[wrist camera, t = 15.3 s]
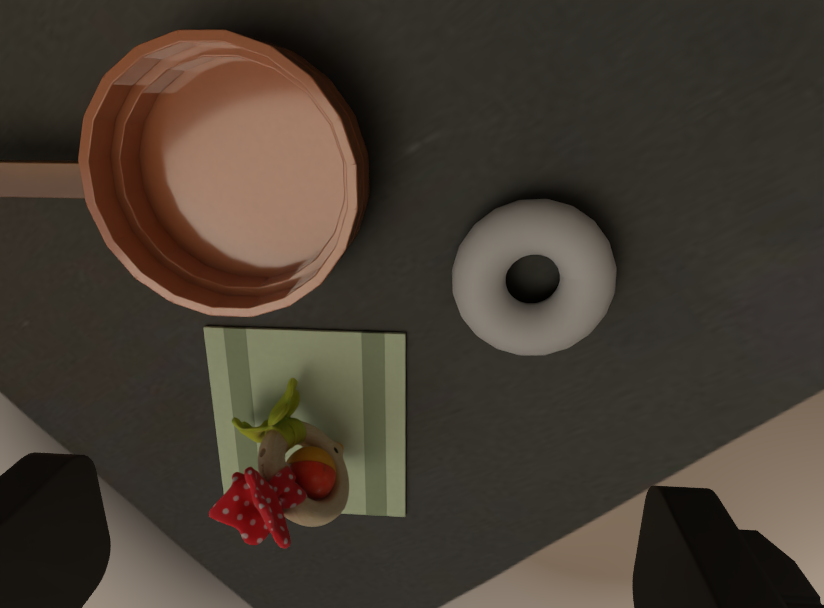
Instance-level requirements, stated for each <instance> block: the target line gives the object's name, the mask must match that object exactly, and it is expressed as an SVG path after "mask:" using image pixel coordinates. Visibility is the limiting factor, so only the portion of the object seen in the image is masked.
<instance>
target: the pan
mask: <svg viewBox="0 0 824 608" xmlns="http://www.w3.org/2000/svg"><path fill="white" fill-rule="evenodd" d="M78 162H79V167H80V173H81V178H82V184H83V189H84V195H85V200H86V204H87V207H88V209H89V211H90V213H91V215H92V217H93V219H94V221H95V223H96V225H97V227H98V229H99V231H100V233H101V235H102V237H103V239H104V241H105V243H106V244H107V247H108V248H109V249H110V250H111V251H112V252H113V253H114V255H115V256H116V257H117V258H118V259H119V260H120V261H121V263H122V264H123V265H124V266H125V267H126V268H127V269H128V271H129V272H130V273H131V274H132V275H133V276H134V277H135V278H136V279H137V280H138V281H140V282H141V283H143V284H144V285H146V286H147V287H149V288H150V289H152V290H153V291H155V292H156V293H158V294H159V295H161V296H162V297H164V298H165V299H167V300H168V301H170V302H172V303H174V304H177V305H180V306H183V307H186V308H189V309H192V310H195V311H198V312H201V313H204V314H207V315H212V316H235V317H254V316H257V315H261V314H264V313H268V312H271V311H275V310H278V309H282V308H285V307H289V306H291V305H292V304H294V303H295V302H296V301H298V300H299V299H301V298H302V297H304V296H305V295H306V294H308V293H309V292H311V291H312V290H314V289H315V288H317V287H318V286H319V285H321V284H322V283H323V282H324V280H325V279H326V277H327V276H328V275H329V273H330V272H331V271H332V269H333V268H334V266H335V265H336V264H337V262H338V261H339V260H340V258H341V257H342V255H343V254H344V253H345V251H346V250H347V248H348V247H349V246H350V244H351V243H352V241H353V240H354V239H355V237H356V236H357V234H358V232H359V229H360V226H361V222H362V219H363V216H364V213H365V209H366V206H367V203H368V199H369V157H368V153H367V150H366V147H365V144H364V141H363V138H362V135H361V132H360V128H359V125H358V122H357V119H356V116H355V115H354V113H353V111H352V110H351V108H350V107H349V106H348V104H347V103H346V101H345V100H344V99H343V97H342V96H341V94H340V93H339V92H338V90H337V89H336V87H335V86H334V84H333V83H332V82H331V80H330V79H329V78H328V77H327V76H326V75H324V74H323V73H322V72H320V71H319V70H318V69H316V68H315V67H314V66H312V65H311V64H310V63H309V62H307V61H306V60H305V59H303V58H302V57H301V56H299V55H298V54H297V53H296V52H293V51H292V50H289V49H286V48H283V47H280V46H278V45H275V44H272V43H269V42H266V41H263V40H260V39H258V38H255V37H251V36H247V35H244V34H240V33H236V32H232V31H229V30H224V29H209V30H176V31H173V32H170V33H168V34H165V35H163V36H160V37H158V38H155V39H152V40H150V41H147V42H145V43H142V44H139V45H137V46H136V47H134V48H133V49H132V50H131V51H130V52H129V53H128V54H127V55H125V56H124V57H123V58H122V59H121V60H120V61H119V62H118V63H117V64H116V65H115V66H114V67H113V68H111V69H110V70H109V71H108V72H107V73H106V74H105V75H104V77H103V78H102V80H101V82H100V84H99V86H98V88H97V90H96V92H95V94H94V96H93V98H92V100H91V102H90V104H89V106H88V108H87V110H86V112H85V114H84V117H83V125H82V133H81V141H80V149H79V157H78Z"/></svg>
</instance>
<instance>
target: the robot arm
mask: <svg viewBox="0 0 824 608" xmlns="http://www.w3.org/2000/svg"><path fill="white" fill-rule="evenodd" d="M110 546H111V545H110V535H109V530H108V526H107V521H106V516H105V511H104V507H103V502H102V497H101V492H100V487H99V482H98V477H97V472H96V468H95V465H94V463H93V461H92V460H91V459H90V458H89V457H88V456H85V455H72V454H53V453H30V454H28V455H26V456H24V457H23V458H21V459H20V460H19V461H18V462H17V463H15V464H14V465H13V466H12V467H11V468H9V469H8V470H7V471H6V472H5V473H3V474H2V475H1V476H0V608H82V607H83V605H84V604H85V603H86V601H87V600H88V599H89V597H90V596H91V595H92V593H93V592H94V590H95V589H96V588H97V586H98V585H99V583H100V581H101V580H102V578H103V575H104V573H105V571H106V568H107V565H108V561H109V556H110ZM633 601H634V608H824V605H822V604H821V603H820V596H819V595H818V594H817V592H816V591H815V589H814V588H813V587H812V585H811V584H810V582H809V581H808V580H807V578H806V577H805V575H804V574H803V573H802V571H801V570H800V569H799V567H798V566H797V564H796V563H795V561H794V560H792V559H791V558H790V557H789V556H787V555H786V554H785V553H784V552H782V551H781V550H780V549H779V548H777V547H776V546H775V545H774V544H773V543H771V542H770V541H769V540H768V539H766V538H765V537H764V536H763V535H762V534H760V533H759V532H758V531H756V530H739V529H738V528H737V526H736V525H735V523H734V522H733V520H732V519H731V517H730V515H729V514H728V512H727V510H726V509H725V507H724V506H723V504H722V503H721V501H720V499H719V498H718V496H717V495H716V494H715V492H714V491H712V490H711V489H707V488H688V487H668V486H651V487H650V488H649V490H648V492H647V495H646V499H645V504H644V510H643V517H642V523H641V529H640V535H639V541H638V547H637V554H636V559H635V565H634V572H633Z"/></svg>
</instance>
